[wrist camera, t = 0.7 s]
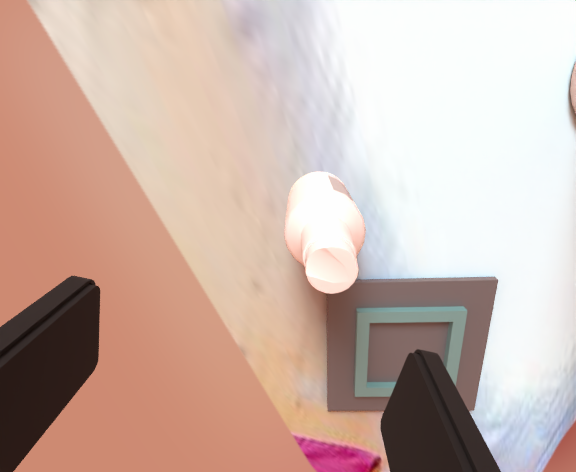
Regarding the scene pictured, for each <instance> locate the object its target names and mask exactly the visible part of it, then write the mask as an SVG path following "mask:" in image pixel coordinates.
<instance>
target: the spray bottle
mask: <svg viewBox="0 0 576 472" xmlns="http://www.w3.org/2000/svg"><path fill="white" fill-rule="evenodd" d="M365 231H366V229H365V224H364V219H363V217H362V215H361V213H360V211H359V210H358V208H357V206H356V205H355V203H354V201H353V199H352V198H351V196H350V194H349V192H348V191H347V189H346V187H345V185H344V184H343V182H342V181H341V180H340V179H338V178H337V177H336V176H334V175H332V174H330V173H327V172H313V173H308V174H306V175H304V176H303V177H301V178H299V179H298V180H297V181H296V183H295V184H294V185H293V186H292V188H291V191H290V193H289V197H288V205H287V213H286V221H285V233H284V237H285V241H286V245H287V248H288V249H289V251H290V252H291V254H292V255H293V257H294V258H295V259H296V260H297V261H299V262H300V263H301V264H302V265H304V267H305V269H306V275H307V279H308V281H309V282H310V284H311V285H312V286H313V287H314V288H316V289H317V290H318V291H321V292H324V293H330V294H334V293H339V292H342V291H344V290H346V289H348V288H349V287H350V286H351V285H352V284H353V283H354V282H355V280H356V278H357V276H358V269H359V268H358V264H357V260H356V259H357V254H358V253H359V251H360V249H361V247H362V245H363V243H364V238H365Z"/></svg>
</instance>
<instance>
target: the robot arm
mask: <svg viewBox="0 0 576 472" xmlns="http://www.w3.org/2000/svg"><path fill="white" fill-rule="evenodd" d="M570 92H571V101H572V105H573V108H574V111H575V114H576V63H575V66H574V70H573V73H572V77H571V89H570ZM99 314H100V288H99V287H98V286H95V282H94V281H93V280H91V279H87V278H82V277H77V276H71V277H69V278H67V279H66V280H65V281H63V282H62V283H60V284H59V285H58V286H56V287H55V288H54V289H52V290H51V291H49V292H48V293H47V294H45V295H44V296H43V297H41V298H40V299H38V300H37V301H36V302H34V303H33V304H31V305H30V306H29V307H27V308H26V309H25V310H23V311H22V312H21V313H19V314H18V315H16V316H15V317H14V318H12V319H11V320H10V321H8V322H7V323H5V324H4V325H2V326H1V327H0V472H13V471H14V470H15V469H16V468H17V466H18V465H19V464H20V463H21V461H22V460H23V459H24V458H25V456H26V455H27V454H28V453H29V451H30V450H31V449H32V447H33V446H34V445H35V444H36V443H37V441H38V440H39V439H40V438H41V436H42V435H43V434H44V433H45V431H46V430H47V429H48V428H49V426H50V425H51V424H52V423H53V421H54V420H55V419H56V418H57V416H58V415H59V414H60V413H61V411H62V410H63V408H65V406H66V405H67V404H68V403H69V401H70V400H71V399H72V397H73V396H74V395H75V394H76V392H77V391H78V390H79V389H80V387H81V386H82V385H83V384H84V383H85V381H86V380H87V379H88V378H89V376H90V375H91V374H92V373H93V371H94V370H95V367H96V365H97V362H98V351H99V350H98V349H99ZM381 433H382V437H383V442H384V446H385V450H386V455H387V459H388V463H389V468H390V472H501V471H500V469H499V467H498V465H497V463H496V462H495V460H494V458H493V456H492V454H491V452H490V450H489V448H488V447H487V445H486V443H485V441H484V439H483V437H482V435H481V433H480V431H479V430H478V428H477V426H476V424H475V422H474V420H473V418H472V416H471V415H470V413H469V411H468V409H467V407H466V405H465V403H464V401H463V399H462V398H461V396H460V394H459V392H458V390H457V388H456V386H455V384H454V383H453V381H452V379H451V377H450V375H449V373H448V371H447V369H446V367H445V366H444V364H443V362H442V360H441V358H440V356H439V355H438V354H437V353H435V352H430V351H425V350H421V349H417V350H415V352H414V353H409V354H408V356H407V358H406V360H405V363H404V365H403V368H402V370H401V372H400V375H399V377H398V380H397V382H396V384H395V387H394V389H393V392H392V394H391V396H390V399H389V401H388V404H387V406H386V408H385V411H384V413H383V416H382V419H381Z"/></svg>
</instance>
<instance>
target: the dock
mask: <svg viewBox="0 0 576 472" xmlns="http://www.w3.org/2000/svg"><path fill="white" fill-rule="evenodd" d="M497 283H498V279H496V278H495V277H466V278H417V279H369V280H355V282H354V283H353V284H352V285H351V286H350V287H349V288H348V289H346V290H344V291H342V292H339V293H334V294H330V293H327V407H328V411H385V408H386V406H387V404H388V401H389V399H390V396H391V394H392V392H393V389H394V387H395V384H396V382H397V380H398V377H399V375H400V372H401V370H402V368H403V365H404V363H405V360H406V358H407V356H408V354H409V353H414V352H415V350H417V349H421V350H425V351H430V352H435V353H437V354H438V355H439V356H440V358H441V360H442V362H443V364H444V366H445V367H446V369H447V371H448V373H449V375H450V377H451V379H452V381H453V383H454V384H455V386H456V388H457V390H458V392H459V394H460V396H461V398H462V399H463V401H464V403H465V405H466V407H467V409H468V410H474V407H475V402H476V396H477V391H478V386H479V380H480V375H481V370H482V364H483V359H484V353H485V348H486V343H487V337H488V332H489V326H490V321H491V316H492V310H493V305H494V300H495V294H496V289H497Z"/></svg>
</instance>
